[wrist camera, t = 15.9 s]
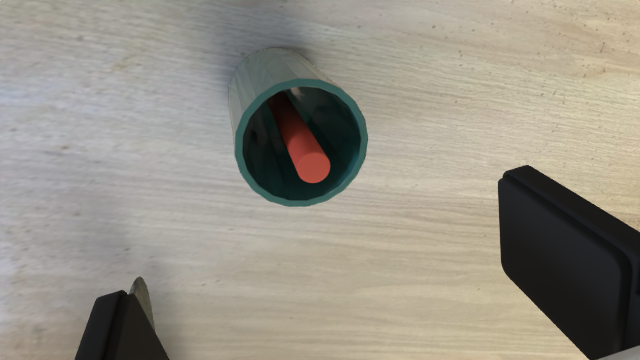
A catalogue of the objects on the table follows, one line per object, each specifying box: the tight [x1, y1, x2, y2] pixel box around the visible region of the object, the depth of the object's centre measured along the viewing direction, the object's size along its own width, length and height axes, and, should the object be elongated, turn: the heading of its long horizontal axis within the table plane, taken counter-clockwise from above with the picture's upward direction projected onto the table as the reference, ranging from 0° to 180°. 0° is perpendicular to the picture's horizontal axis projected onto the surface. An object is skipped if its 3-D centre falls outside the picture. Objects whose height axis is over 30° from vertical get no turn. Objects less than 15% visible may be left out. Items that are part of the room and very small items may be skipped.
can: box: [228, 48, 368, 207], centre depth 29 cm, size 7×7×12 cm
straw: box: [267, 91, 330, 183], centre depth 28 cm, size 2×2×14 cm
